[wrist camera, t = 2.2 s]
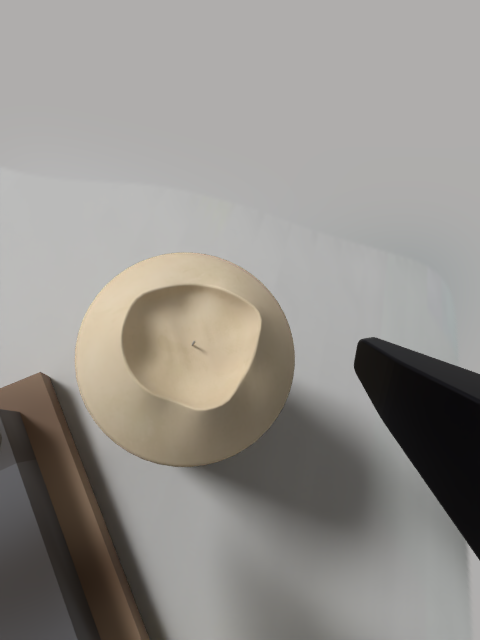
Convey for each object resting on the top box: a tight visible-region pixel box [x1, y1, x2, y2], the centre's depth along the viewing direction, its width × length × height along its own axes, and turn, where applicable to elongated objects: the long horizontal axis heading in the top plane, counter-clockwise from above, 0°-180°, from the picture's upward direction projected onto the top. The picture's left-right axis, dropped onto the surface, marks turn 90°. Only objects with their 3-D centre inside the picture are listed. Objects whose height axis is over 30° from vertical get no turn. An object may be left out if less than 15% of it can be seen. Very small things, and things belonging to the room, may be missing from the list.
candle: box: [75, 253, 295, 467], centre depth 13 cm, size 6×6×10 cm
